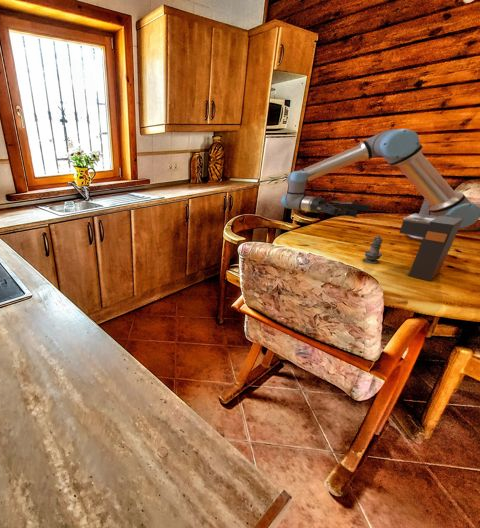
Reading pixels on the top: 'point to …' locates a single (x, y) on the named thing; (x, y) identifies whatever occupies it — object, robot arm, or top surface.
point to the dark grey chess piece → (374, 251)
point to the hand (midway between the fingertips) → (363, 211)
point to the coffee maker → (430, 242)
